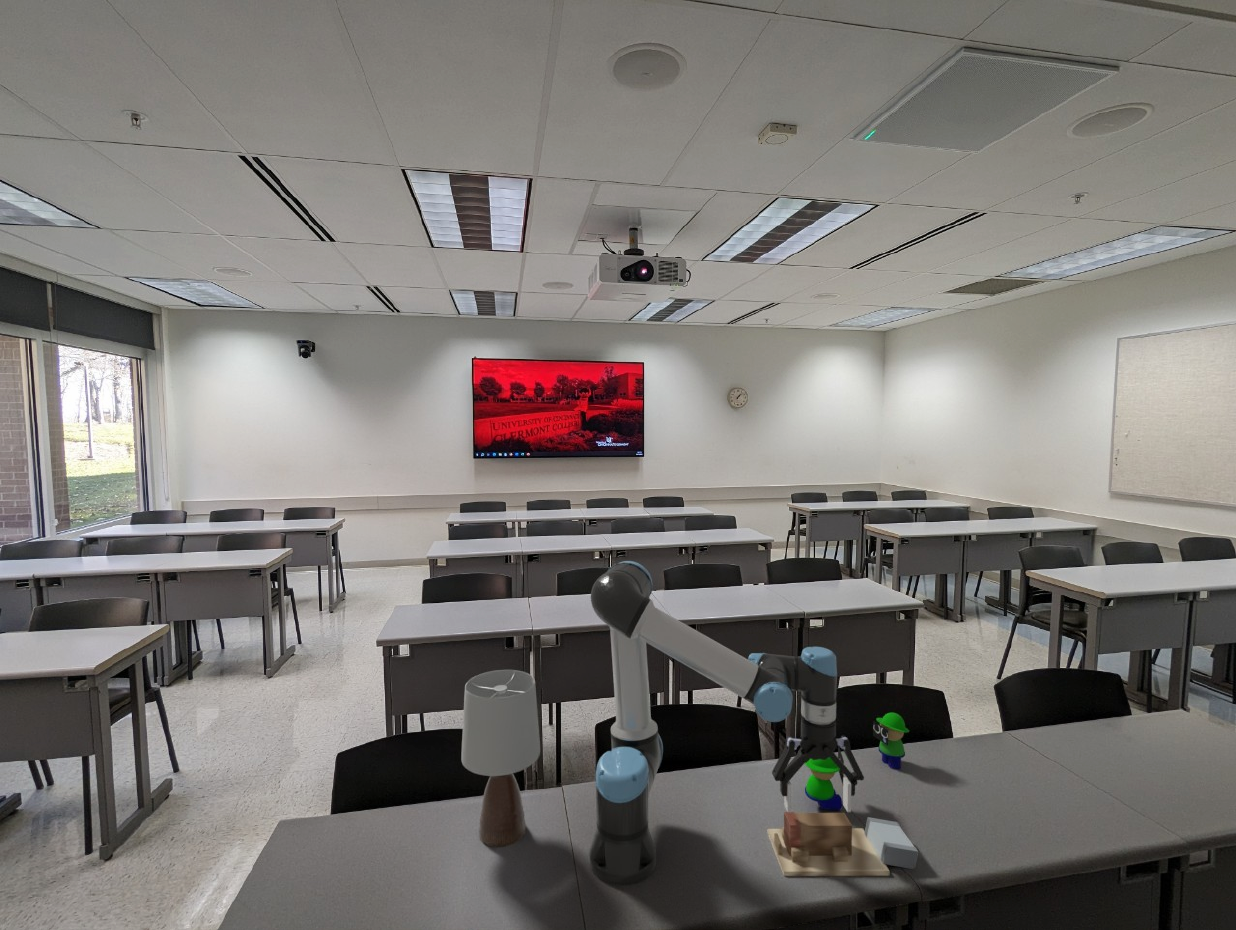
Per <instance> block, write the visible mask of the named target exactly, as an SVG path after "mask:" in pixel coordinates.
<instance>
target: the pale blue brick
mask: <svg viewBox="0 0 1236 930" xmlns="http://www.w3.org/2000/svg"><path fill="white" fill-rule="evenodd" d="M864 831H865V832H864V834H865V835H866V837H867V838H868V840H869V842H870V843H871V845H872V846H873V848H874V850H875V851H876V853H877V854H878V856H879V858H880V859H881V861H882V863H883V864H885V865H886V866H892V867H893V866H894V867H898V868H899V867H900V868H906V869H911V870H914V869H916V865H917V860H918V855H919V851H918V849H917V847H916V846H915V845H913V843H912V841H911V840H910V839H909V837H908V836H907V835H906V833H905V832H904V831H903V829H902V828H901V827H900V824H899V822H897V821H894V820H893V821H892V820H887V819H881V818H875V817H869V816H868V817H867V819H866V823H865V829H864Z"/></svg>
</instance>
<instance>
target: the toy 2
mask: <svg viewBox="0 0 1236 930" xmlns="http://www.w3.org/2000/svg"><path fill="white" fill-rule="evenodd" d="M909 732H910V730H909V729H908V728H907V727H906V724H905V721H904V718H903V717H902V716H901V715H900V714H898V713H896V712H888V713H885V714H884V716H882V717H877V718H876V721H875V720H872V736H873V737H874V738H876V739H877V740H878V741H880V742H879V746H878V752H879V753H880V754H881V761H882V762H883V763H884V764H887V766H888V767H889V768H890V769H892V770H901V768H902V758H904V757H905V756H906V752H905V747H904V743H903V741H902V738H903V737H904V734H905V733H909Z"/></svg>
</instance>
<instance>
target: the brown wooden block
mask: <svg viewBox="0 0 1236 930" xmlns="http://www.w3.org/2000/svg"><path fill="white" fill-rule="evenodd" d="M783 826H784V844H785V846H786V849H787V851H788V853H789V856H791V848H807V849H808V851H809V856H832V847H846V848H847V850H848V856H852V828H853V825H852V823H851V821H850V820H849V818H848V817H847V814H846V813H845V812H795V811H791V812H787V811H783Z"/></svg>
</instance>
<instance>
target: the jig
mask: <svg viewBox="0 0 1236 930" xmlns="http://www.w3.org/2000/svg"><path fill="white" fill-rule="evenodd" d="M864 832H865V829H864V828H863V827H862V828H861V827H857V828H856V827H855V828H853V827H852V856H848V850H847V848H846V847H832V856H809V851H808V849H807V848H791V856H789V853H788V851H787V849H786V846H785V844H784V825H783V826H781V828H767V836H768V838H769V841H770V843H771V847H772V850H773V852H774V854H775V857H776V859H777V862H778V864H779V867H780V869H781V872H782V874H783V876H784V877H807V876H809V877H812V876H813V877H817V876H818V877H819V876H820V877H827V876H830V877H836V876H837V877H838V876H839V877H846V876H849V877H850V876H853V877H855V876H859V877H860V876H861V877H862V876H864V877H865V876H867V877H868V876H869V877H870V876H873V877H874V876H879V877H880V876H886V877H887V876H890V870H889V868H888V865H887V864H883V863H882V861H881V859H880V858H879V856H878V854H877V853H876V851H875V850H874V848H873V846H872V845H871V843H870V842H869V840H868V838H867V837H866V835H865V834H864Z"/></svg>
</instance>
